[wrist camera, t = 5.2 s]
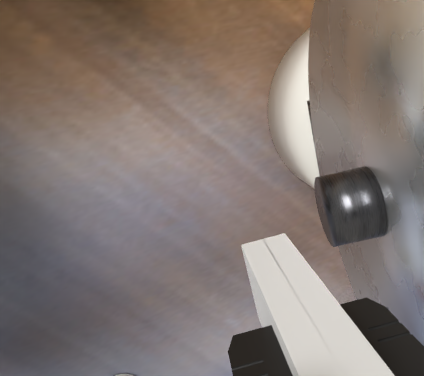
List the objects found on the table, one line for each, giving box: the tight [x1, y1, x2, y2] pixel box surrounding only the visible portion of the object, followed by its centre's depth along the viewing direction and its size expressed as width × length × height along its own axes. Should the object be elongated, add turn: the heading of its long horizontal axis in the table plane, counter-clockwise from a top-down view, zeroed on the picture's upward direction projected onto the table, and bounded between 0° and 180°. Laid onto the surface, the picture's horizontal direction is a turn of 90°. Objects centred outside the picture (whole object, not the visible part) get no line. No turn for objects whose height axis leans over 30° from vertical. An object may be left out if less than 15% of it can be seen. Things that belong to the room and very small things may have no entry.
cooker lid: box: [307, 0, 424, 346], centre depth 15 cm, size 22×19×4 cm
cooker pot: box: [268, 28, 319, 189], centre depth 33 cm, size 18×24×12 cm
